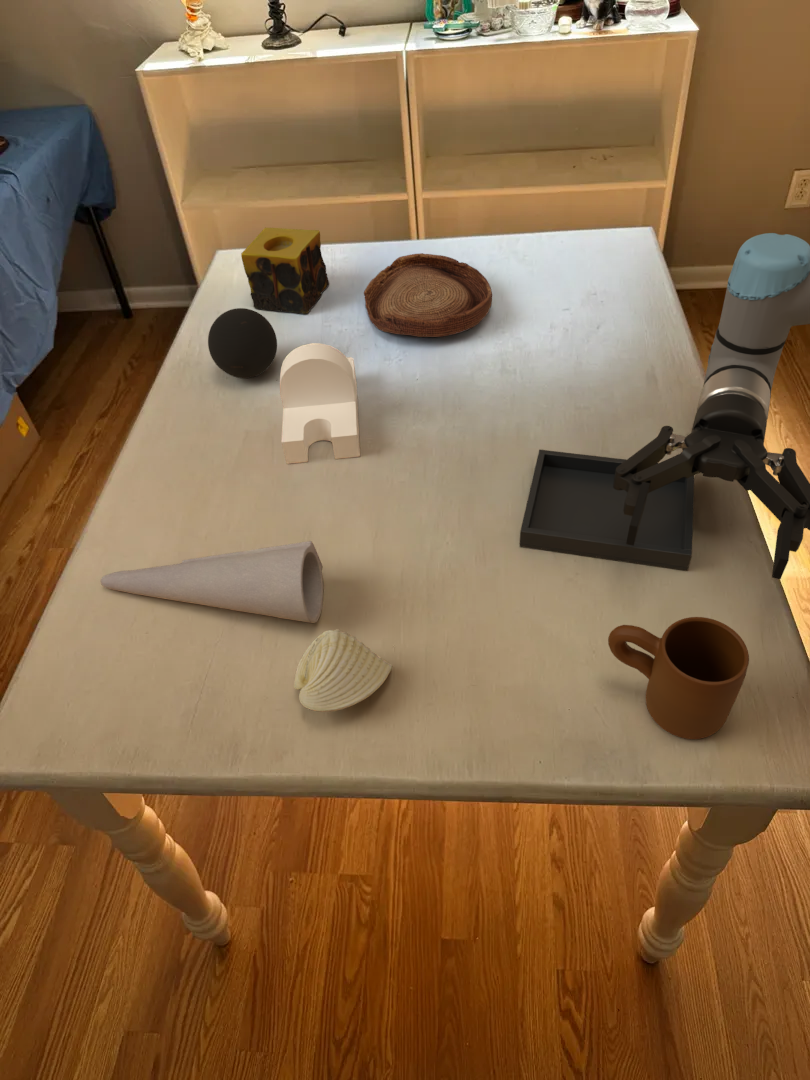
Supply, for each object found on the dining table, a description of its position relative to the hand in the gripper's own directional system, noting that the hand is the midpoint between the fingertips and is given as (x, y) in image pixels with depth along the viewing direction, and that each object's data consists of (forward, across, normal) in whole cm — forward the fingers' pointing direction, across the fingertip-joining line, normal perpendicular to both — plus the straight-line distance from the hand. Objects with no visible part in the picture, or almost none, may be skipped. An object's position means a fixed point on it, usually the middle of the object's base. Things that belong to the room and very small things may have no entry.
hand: (703, 552), depth 75 cm
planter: (+16, +49, -10) cm, 53 cm away
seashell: (+20, +30, -10) cm, 38 cm away
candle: (-48, +72, -11) cm, 87 cm away
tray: (-13, +11, -10) cm, 20 cm away
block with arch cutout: (-19, +52, -11) cm, 56 cm away
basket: (-50, +48, -11) cm, 70 cm away
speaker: (-26, +68, -11) cm, 74 cm away
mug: (+11, 0, -10) cm, 15 cm away
